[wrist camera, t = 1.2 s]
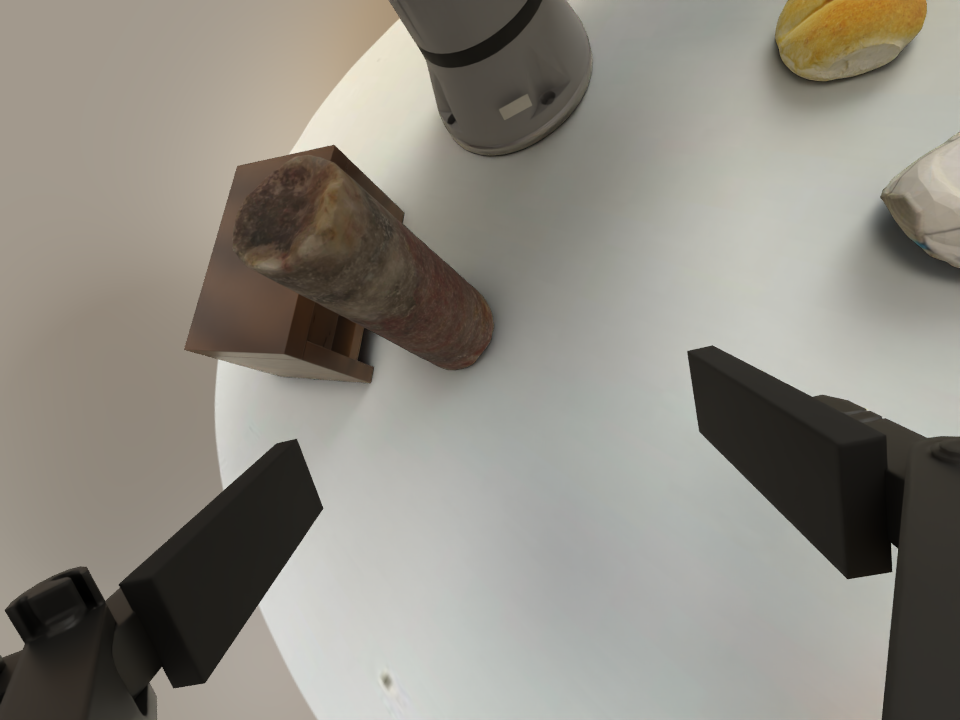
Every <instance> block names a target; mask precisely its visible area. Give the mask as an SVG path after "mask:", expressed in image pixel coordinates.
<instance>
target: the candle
mask: <svg viewBox="0 0 960 720" xmlns="http://www.w3.org/2000/svg"><path fill="white" fill-rule="evenodd" d="M232 244H233V247H232V249H233V251H234V252H235V253H236V254H237V256H238V258H239V259H240V261H241V262H242V263H244V264H245V265H246V266H247V267H249V268H251V269H252V270H254V271H256V272H258V273H260V274H262V275H264V276H265V277H267V278H269V279H271V280H273V281H275V282H277V283H279V284H281V285H283V286H284V287H286V288H288V289H290V290H292V291H294V292H296V293H298V294H300V295H302V296H304V297H306V298H308V299H310V300H312V301H314V302H316V303H318V304H320V305H322V306H323V307H325V308H327V309H329V310H331V311H333V312H335V313H337V314H339V315H341V316H343V317H345V318H347V319H349V320H350V321H352V322H354V323H356V324H358V325H360V326H362V327H364V328H366V329H368V330H370V331H372V332H374V333H376V334H378V335H380V336H382V337H384V338H385V339H387V340H389V341H391V342H393V343H395V344H397V345H398V346H400V347H402V348H404V349H406V350H408V351H409V352H411V353H413V354H415V355H417V356H419V357H421V358H423V359H425V360H427V361H429V362H431V363H433V364H435V365H437V366H439V367H441V368H444V369H447V370H457V369H462V368H466V367H468V366H470V365H472V364H473V363H474V362H475V361H476V360H477V359H478V357H479V356H480V355H481V354H482V352H483V351H484V350H485V348H486V347H487V346H488V344H489V342H490V341H491V337H492V332H493V329H494V324H493V316H492V312H491V310H490V308H489V306H488V304H487V302H486V300H485V299H484V297H483V296H482V295H481V294H480V293H479V292H478V291H477V290H476V289H475V288H474V287H473V286H472V285H470V284H469V283H468V282H467V281H466V280H465V279H464V278H463V277H461V276H460V275H459V274H458V273H457V272H456V271H455V270H454V269H453V268H452V267H450V266H449V265H448V264H447V263H446V262H444V261H443V260H442V259H441V258H440V257H439V256H438V255H437V254H435V253H434V252H433V251H432V250H431V249H430V248H429V247H428V246H427V245H425V244H424V243H423V242H422V241H421V240H420V239H419V238H418V237H416V236H415V235H414V234H413V233H412V232H411V231H410V230H409V229H408V228H407V227H406V226H404V225H403V224H402V223H401V222H400V221H398V220H397V219H396V218H395V217H394V216H393V215H392V214H391V213H390V212H389V211H388V210H387V209H386V208H384V207H383V206H382V205H381V204H380V203H379V202H378V201H377V200H376V199H374V198H373V197H372V196H371V195H370V194H369V193H368V192H367V191H366V190H364V189H363V188H362V187H361V186H360V185H359V184H358V183H357V182H356V181H355V180H354V179H352V178H351V177H350V176H349V175H348V174H346V173H345V172H344V171H343V170H342V169H341V168H340V167H338V166H337V165H336V164H335V163H334V162H331V161H329V160H326V159H324V158H321V157H316V156H312V155H304V156H297V157H294V158H292V159H290V160H289V161H287V162H286V163H284V164H283V165H281V166H280V167H279V168H278V169H277V170H275V171H273V172H272V173H271V174H270V175H268V176H267V177H266V178H265V179H264V180H263V181H262V182H261V184H259V185H258V186H257V187H256V188H255V189H254V190H253V191H252V192H251V193H250V194H249V195H248V196H247V197H246V198H245V199H244V201H243V203H242V205H241V207H240V208H239V209H238V212H237V214H236V219H235V224H234V227H233V237H232Z"/></svg>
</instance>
